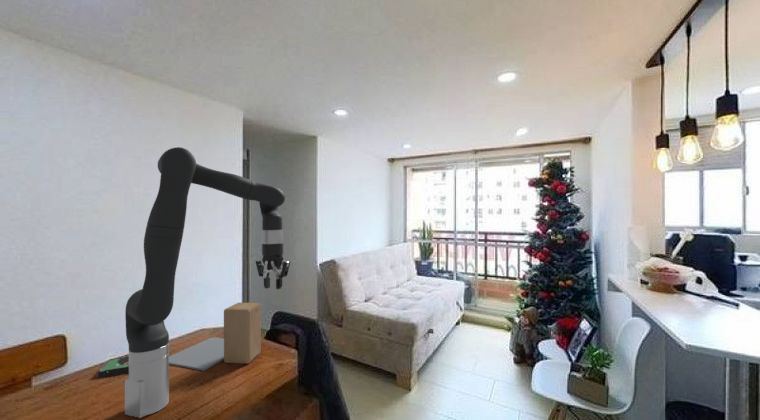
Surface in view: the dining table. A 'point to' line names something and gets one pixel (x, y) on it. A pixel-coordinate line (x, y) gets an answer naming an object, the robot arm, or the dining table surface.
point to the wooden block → (242, 332)
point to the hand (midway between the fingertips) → (273, 288)
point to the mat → (200, 355)
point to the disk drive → (114, 367)
